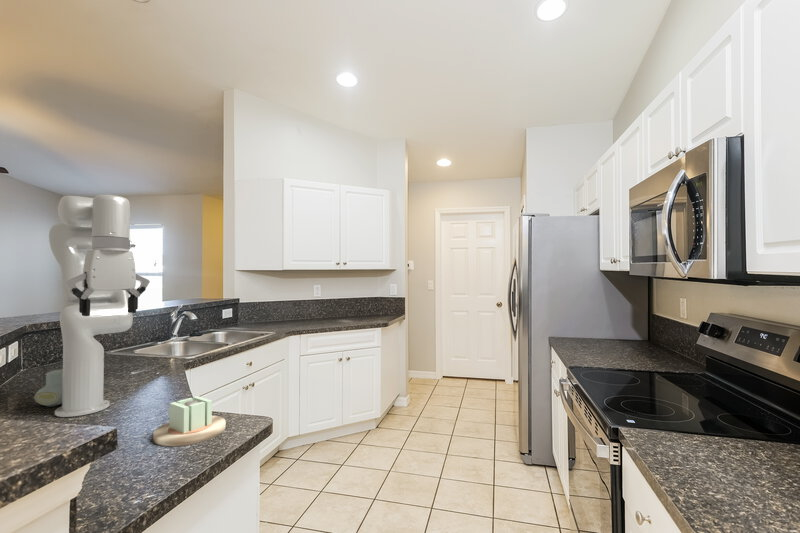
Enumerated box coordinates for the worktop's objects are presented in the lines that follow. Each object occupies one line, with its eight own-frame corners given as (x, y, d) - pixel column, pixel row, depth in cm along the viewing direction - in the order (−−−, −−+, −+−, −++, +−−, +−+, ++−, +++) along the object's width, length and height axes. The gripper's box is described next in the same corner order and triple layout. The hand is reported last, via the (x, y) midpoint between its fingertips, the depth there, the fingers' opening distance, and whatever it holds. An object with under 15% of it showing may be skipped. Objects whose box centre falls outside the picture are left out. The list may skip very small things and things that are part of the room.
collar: (169, 427, 96) (169, 403, 97) (197, 418, 102) (197, 396, 102) (183, 433, 93) (184, 408, 93) (211, 424, 98) (211, 400, 99)
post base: (141, 436, 95) (141, 405, 95) (204, 416, 108) (204, 389, 109) (173, 452, 86) (174, 418, 86) (238, 428, 100) (238, 399, 100)
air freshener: (28, 408, 117) (28, 374, 117) (53, 399, 125) (53, 368, 125) (64, 407, 116) (64, 374, 117) (86, 398, 125) (86, 367, 125)
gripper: (142, 248, 105) (141, 310, 105) (61, 243, 91) (59, 316, 90) (155, 246, 101) (154, 312, 100) (72, 242, 87) (70, 318, 86)
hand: (109, 314), depth 95 cm, fingers open, 9 cm apart
